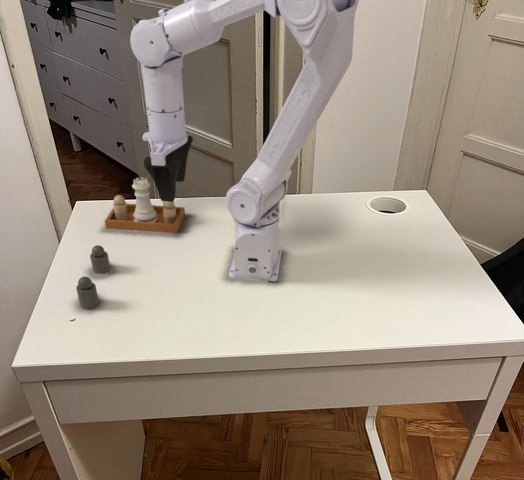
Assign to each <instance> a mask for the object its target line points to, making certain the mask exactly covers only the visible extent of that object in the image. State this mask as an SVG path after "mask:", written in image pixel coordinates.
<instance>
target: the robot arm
mask: <svg viewBox="0 0 524 480" xmlns="http://www.w3.org/2000/svg"><path fill="white" fill-rule="evenodd" d="M359 2H360V0H183V3H181V4H179V5H177V6H175V7H173V8H171V9H169V8H168V7H164V8H162V9H160V10H158V11H157V12H158V16H157V17H154V18H150V19H141V20H139V21H138V23H136V24H135V25H134V26H133V28H132V30H131V31H130V38H129V39H130V41H129V43H130V47H131V51H132V53H133V55H134V56H135V58H136V59H137V61H138V62H139V63H140V64H141V71H142V81H143V88H144V98H145V107H146V114H147V125H148V131H147V132H146V131H145V132H144V133H143V135H142V140H143V142H149V146H150V150H151V151H150V156H145V158H144V159H143V167H144V168H145V170H146V171H147V172H148V174H149V175H150V177H151V179H152V180H153V183H154V185H155V188H156V191H157V193H158V196H159V199H160V201H161V202H164V201H169V202H173V201H174V202H175V199H176V190H177V182H181V183H184V181H185V179H186V172H187V164H188V157H189V152H190V149H191V146H192V143H193V141H194V137H193V136H192V135H188V133H187V129H186V116H185V115H186V114H185V103H184V102H185V101H184V87H183V73H182V69H183V68H184V63H183V62H184V61H183V60H184V56H187V55H188V54H190V53H193V52H195V51H197V50H200V49H203V48H205V47H207V46H210V45H212V44H214V43H217V42H219V40H220V39H221V38H222V35H223V33H224V28H225V27H226V26H229V25H231V24H233V23H237V22H239V21H241V20H244V19H247V18H249V17H252V16H254V15H256V14H259V13H262V12H266V13H267V14H268V15H270V16H271V17H273V18H275V19H276V18H279V17H281V18H282V20H283V21H284V24H285V25H286V26H287V27H288V29H289V30H290V32H291V34H292V36H293V37H294V39H295V40H296V42H297V43H298V45H299V46H300V48H301V50H302V52H303V56H304V58H305V63H304V65H303V67H302V69H301V71H300V73H299V75H298V77H297V78H296V81H295V83H294V84H293V86H292V87H291V91H290V92H289V95H288V96H287V98H286V100H285V102H284V105H283V106H282V108H281V110H280V112H279V113H278V117H277V118H276V120H275V122H274V124H273V125H272V128H271V129H270V131H269V133H268V135H267V138H266V139H265V141H264V143H263V145H262V147H261V149H260V151H259V152H258V155H257V157H256V158H255V159H254V161H253V162H252V164H251V165H250V166H249V167H248V168H247V170H246V171H245V173H243V175H242V177H241V179H240V180H239V182H237V183H236V184H234V185H233V186H232V187H230V188H229V190H227V193H226V196H225V205H226V209H227V211H228V213H229V215H230V216H231V217H232V218H233V222H234V246H233V253H234V255H233V258H232V262H231V266H230V269H229V272H228V277H229V278H237V279H252V280H264V281H268V282H277V281H278V278H279V272H280V266H281V260H282V252H283V251H282V250H281V249H280V248H279V241H280V240H279V239H280V238H279V237H280V216H281V213H280V211H281V210H280V205H281V201H282V200H284V198H286V195H287V192H288V183H289V179H290V177H291V175H292V173H293V171H292V169H291V168H292V166H293V164H294V163H295V160H297V157H298V156H299V154H300V152H301V150H302V149H303V147H304V145H305V144H306V142H307V140H308V138H309V136H310V135H311V133H312V131H313V130H314V128H315V126H316V125H317V123H318V121H319V119H320V118H321V115H322V114H323V113H324V111H325V109H326V107H327V105H328V104H329V102H330V100H331V99H332V97H333V95H334V93H335V92H336V90H337V88H338V87H339V85H340V83H341V81H342V79H343V78H344V76H345V75H346V73H347V71H348V69H349V67H350V64H351V63H352V60H353V49H354V32H355V15H356V12H357V9H358V5H359Z"/></svg>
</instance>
